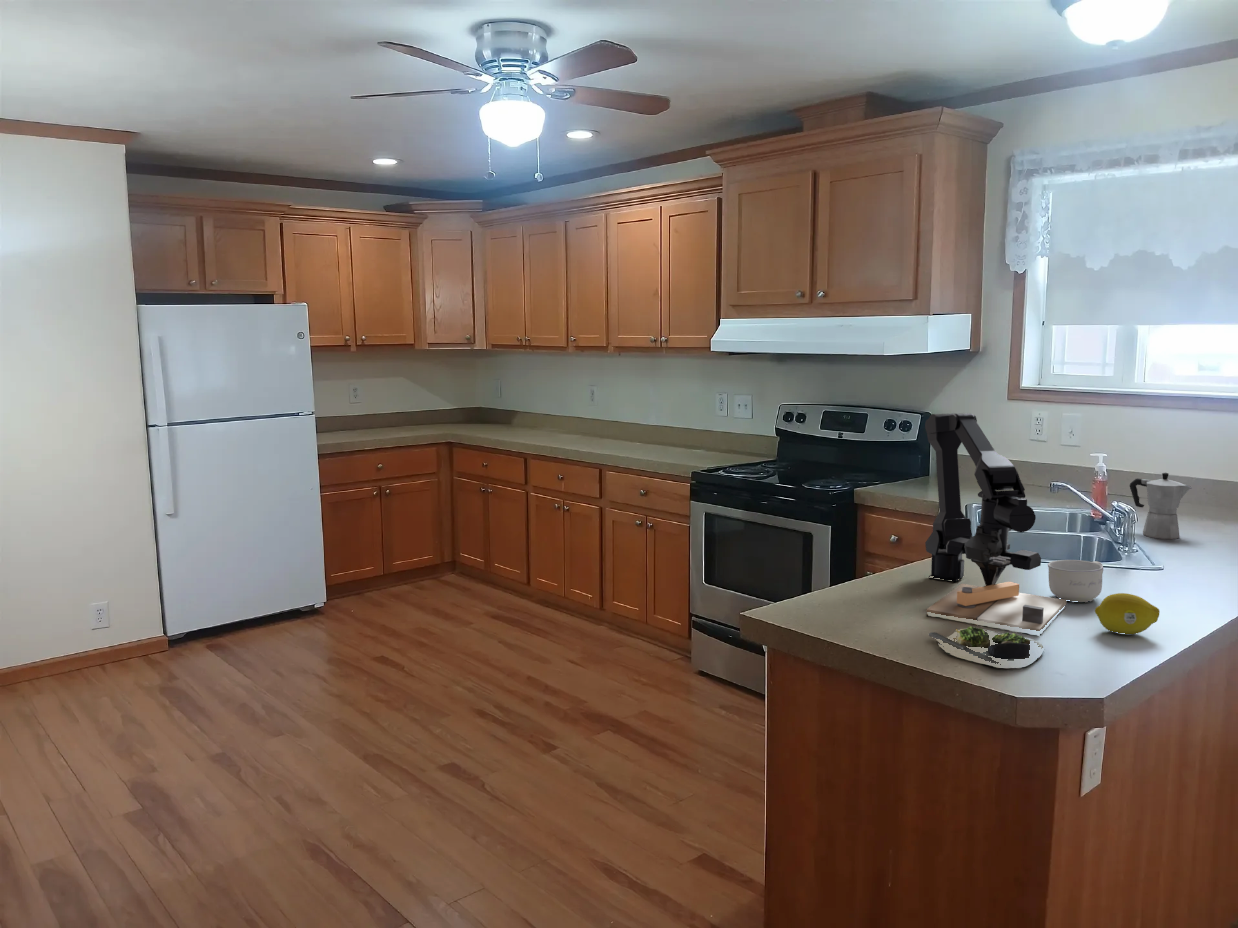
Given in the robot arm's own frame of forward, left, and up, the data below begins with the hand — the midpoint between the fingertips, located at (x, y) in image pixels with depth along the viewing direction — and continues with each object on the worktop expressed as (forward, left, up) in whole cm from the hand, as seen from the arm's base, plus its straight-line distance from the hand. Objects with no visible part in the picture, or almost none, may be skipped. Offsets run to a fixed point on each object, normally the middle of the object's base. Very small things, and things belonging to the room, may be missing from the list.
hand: (989, 591), depth 195 cm
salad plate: (+9, -31, -3) cm, 32 cm away
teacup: (+15, +14, -3) cm, 21 cm away
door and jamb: (+3, -5, -3) cm, 7 cm away
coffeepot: (+20, +91, -3) cm, 94 cm away
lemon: (+27, -6, -3) cm, 28 cm away
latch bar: (+1, -4, -1) cm, 4 cm away
